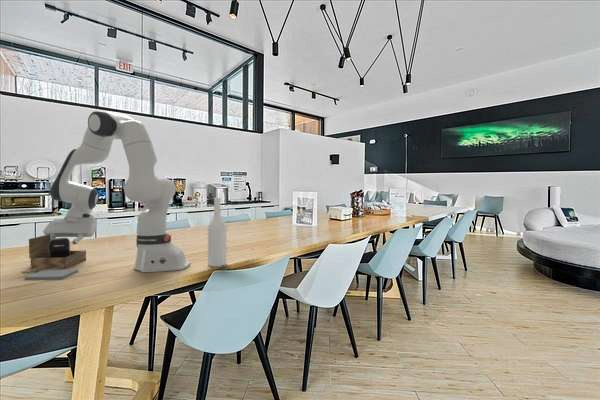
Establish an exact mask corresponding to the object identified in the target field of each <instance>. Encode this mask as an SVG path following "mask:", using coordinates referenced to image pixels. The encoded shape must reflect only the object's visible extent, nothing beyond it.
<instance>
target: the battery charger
mask: <svg viewBox="0 0 600 400" xmlns="http://www.w3.org/2000/svg"><path fill="white" fill-rule="evenodd" d="M70 251H71V242H70V239H69V237H56V238H54V239H52V240H51V241H50V255H51V258H65V257H68V256H70Z"/></svg>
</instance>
